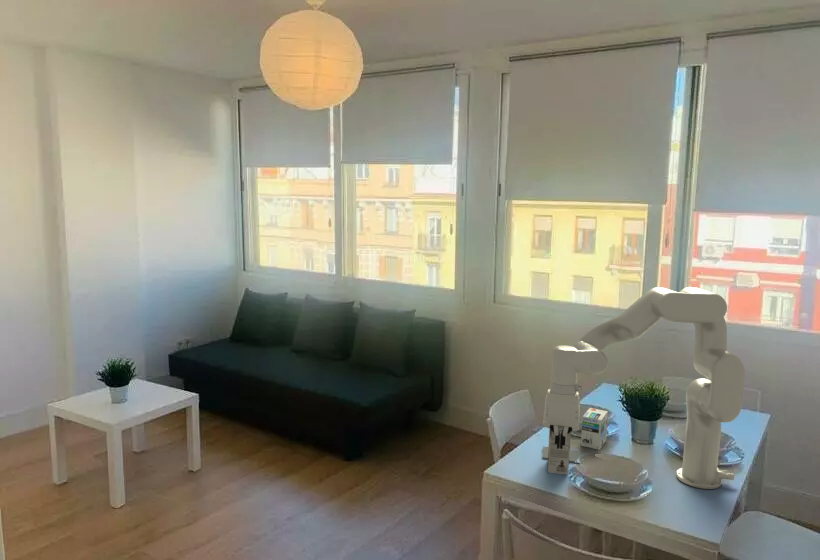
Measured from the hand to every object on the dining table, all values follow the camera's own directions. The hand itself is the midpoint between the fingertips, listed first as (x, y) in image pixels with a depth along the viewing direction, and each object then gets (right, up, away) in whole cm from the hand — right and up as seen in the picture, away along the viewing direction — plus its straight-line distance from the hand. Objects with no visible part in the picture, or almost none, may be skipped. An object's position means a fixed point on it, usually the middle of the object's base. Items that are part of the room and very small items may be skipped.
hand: (559, 446), depth 181 cm
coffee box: (+2, -10, +11) cm, 15 cm away
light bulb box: (+20, -8, +32) cm, 38 cm away
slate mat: (+5, -8, +20) cm, 23 cm away
